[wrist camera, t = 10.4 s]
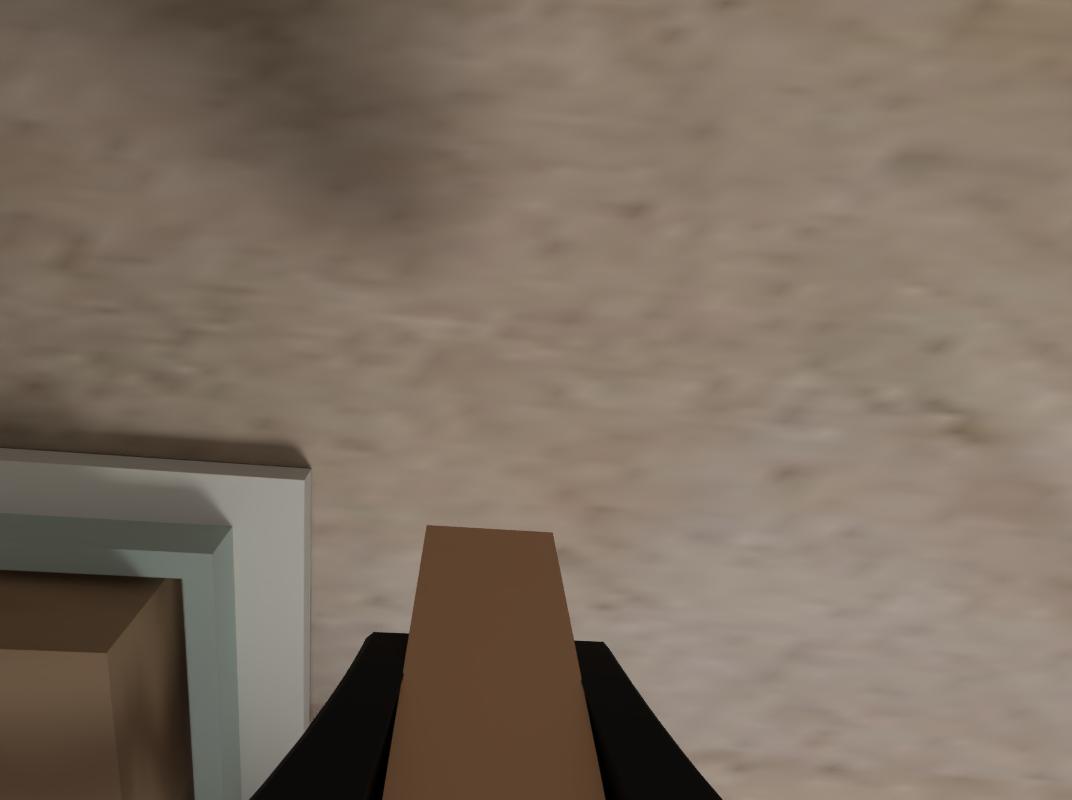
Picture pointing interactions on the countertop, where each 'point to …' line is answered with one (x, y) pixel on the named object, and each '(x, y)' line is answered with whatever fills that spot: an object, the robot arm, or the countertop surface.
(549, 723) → the tan square block
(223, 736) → the cradle
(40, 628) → the tan box sleeve
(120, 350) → the countertop surface
